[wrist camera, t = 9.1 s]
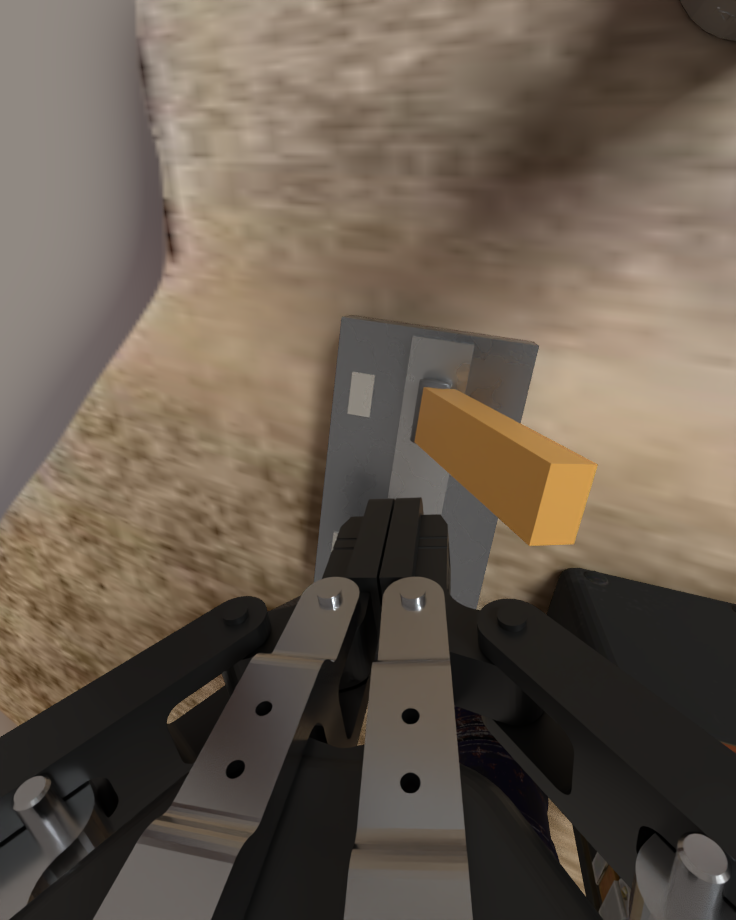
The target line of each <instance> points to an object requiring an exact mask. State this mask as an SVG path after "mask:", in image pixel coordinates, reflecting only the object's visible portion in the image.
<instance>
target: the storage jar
mask: <svg viewBox="0 0 736 920" xmlns="http://www.w3.org/2000/svg"><path fill="white" fill-rule="evenodd" d="M454 710H455V722H456V733H457V745H458V756H459V763H460V764H463V765H465V766H467V767H469V768H471V769H473V770H475V771H476V772H478V773H480V774H481V775H483V776H484V777H486V778H487V779H489V780H490V781H491V782H492V783H494V784H495V785H496V786H497V787H499V789H500V790H501V791H502V792H503V793H504V794H505V795H506V796H507V797H508V798H509V799H510V800H511V801H512V802H513V803H514V805H515V806H516V807H517V808H518V810H519V811H520V812H521V814H522V815H523V816H524V817H525V819H526V820H527V821H528V823H529V824H530V825H531V827H532V828H533V829H534V830H535V832H536V833H537V834H538V836H539V837H540V838H541V840H542V841H543V842H544V843H545V845H546V846H547V847H548V849H549V850H550V851H551V852H552V854H553V855H554V856H555V858H556V859H557V860H558V862H559V859H558V855H557V853H556V849H555V846H554V843H553V842H552V840H551V836H550V829H549V822H548V816H547V811H548V805H549V804H548V796H547V795H546V794H545V793H544V792H543V791H542V790H541V788H540V787H539V786H538V785H537V784H536V783H535V782H534V781H533V780H532V778H531V777H530V776H529V775H528V774H527V773H526V772H525V771H524V770H523V768H522V767H521V766H520V765H519V764H518V763H517V762H516V761H515V760H514V758H513V757H512V756H511V755H510V754H509V753H508V752H507V751H506V750H505V748H504V747H503V746H502V745H501V744H500V743H499V742H498V741H497V740H496V738H495V737H494V736H493V735H492V734H491V733H490V732H489V731H488V729H487V728H486V727H485V725H484V723H483V720H482V717H481V715H480V714H477V713H474V712H471V711H469V710H466V709H463V708H460V707H457V706H454Z"/></svg>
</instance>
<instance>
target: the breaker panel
mask: <svg viewBox="0 0 736 920" xmlns="http://www.w3.org/2000/svg"><path fill="white" fill-rule="evenodd" d="M538 348H539V345H537V344H536V343H535V342H532V341H526V340H519V339H512V338H505V337H498V336H491V335H484V334H477V333H471V332H464V331H457V330H450V329H443V328H436V327H429V326H422V325H416V324H409V323H402V322H395V321H388V320H381V319H374V318H367V317H361V316H354V315H350V316H344V317H342V319H341V329H340V338H339V348H338V357H337V367H336V376H335V386H334V395H333V405H332V414H331V424H330V433H329V443H328V452H327V462H326V471H325V481H324V490H323V500H322V509H321V519H320V528H319V538H318V547H317V557H316V566H315V576H314V582H316V581H318V580H321V579H322V577H323V574H324V571H325V568H326V566H327V563H328V560H329V557H330V555H331V552H332V550H333V546H334V544H335V541H336V540H337V536H338V533H339V530H340V527H341V526H342V525H343V524H344V523H345V522H346V521H347V520H348V519H349V518H350V517H357V516H364V513H365V510H366V507H367V503H368V500H369V499H389V498H394V499H396V498H417V497H421V498H422V502H423V512H424V515H431V514H441V516H442V517H443V519H444V520H445V521H446V523H447V524H448V535H449V550H450V565H451V592H450V594H451V596H452V598H453V599H455V600H456V601H457V602H459V603H460V604H462V605H464V606H466V607H469V608H472V609H476V608H477V604H478V600H479V595H480V591H481V587H482V583H483V579H484V574H485V570H486V566H487V562H488V558H489V553H490V549H491V545H492V541H493V537H494V532H495V528H496V524H497V520H498V517H497V516H496V515H494V514H493V513H492V512H491V511H490V510H489V509H488V508H487V507H486V506H485V505H483V504H482V503H481V502H480V501H479V500H478V499H477V498H476V497H475V496H473V495H472V494H471V493H470V492H469V491H468V490H467V489H466V488H465V487H463V486H462V485H461V484H460V483H459V482H458V481H457V480H456V479H455V478H453V477H452V476H451V475H450V474H449V473H448V472H447V471H446V470H445V469H443V468H442V467H441V466H440V465H439V464H438V463H437V462H436V461H435V460H434V459H432V458H431V457H430V456H429V455H428V454H427V453H426V452H425V451H424V450H422V449H421V448H420V447H419V446H418V445H417V444H415V443H413V442H411V441H410V436H411V430H412V424H413V418H414V412H415V405H416V399H417V393H418V387H419V381H420V379H435V380H440V381H445V382H448V383H450V384H451V387H450V389H456V390H458V391H460V392H462V393H464V394H466V395H467V396H469V397H471V398H473V399H475V400H477V401H479V402H481V403H483V404H484V405H486V406H488V407H490V408H492V409H494V410H496V411H498V412H500V413H501V414H503V415H505V416H507V417H509V418H511V419H513V420H515V421H517V422H518V423H521V419H522V415H523V411H524V406H525V402H526V398H527V394H528V390H529V385H530V381H531V377H532V373H533V369H534V364H535V360H536V356H537V352H538ZM301 596H302V595H301ZM301 596H299V597H297V598H295V599H293V600H291V601H289V602H287V603H285V604H283V605H281V606H279V607H277V608H275V609H273V610H277V609H281V608H285V607H289V606H293V605H296V604H297V603H298V602H299V600H300V598H301ZM271 611H272V610H271ZM375 660H378V654H375Z"/></svg>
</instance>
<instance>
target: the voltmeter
mask: <svg viewBox="0 0 736 920" xmlns="http://www.w3.org/2000/svg"><path fill="white" fill-rule="evenodd" d="M547 616H549V617H550V618H552V619H553V620H554V621H556V622H557V623H558V624H560V625H561V626H562V627H564V628H565V629H567V630H568V631H569V632H571V633H572V634H573V635H575V636H576V637H578V638H579V639H580V640H582V641H583V642H584V643H586V644H587V645H588V646H590V647H591V648H593V649H594V650H595V651H597V652H598V653H599V654H601V655H602V656H604V657H605V658H606V659H608V660H609V661H610V662H612V663H613V664H614V665H616V666H617V667H619V668H620V669H621V670H623V671H624V672H625V673H627V674H628V675H630V676H631V677H632V678H634V679H635V680H636V681H638V682H639V683H640V684H642V685H643V686H645V687H646V688H647V689H649V690H650V691H651V692H653V693H654V694H656V695H657V696H658V697H660V698H661V699H662V700H664V701H665V702H666V703H668V704H669V705H671V706H672V707H673V708H675V709H676V710H677V711H679V712H680V713H682V714H683V715H684V716H686V717H687V718H688V719H690V720H691V721H692V722H694V723H695V724H697V725H698V726H699V727H701V728H702V729H703V730H705V731H706V732H707V733H709V734H710V735H712V736H713V737H714V738H716V739H717V740H718V741H720V742H721V743H723V744H724V745H725V746H727V747H728V748H729V749H731V750H732V751H733V752H735V753H736V604H732V603H728V602H724V601H719V600H715V599H711V598H707V597H702V596H698V595H694V594H689V593H685V592H681V591H676V590H672V589H668V588H664V587H659V586H655V585H651V584H646V583H642V582H638V581H634V580H629V579H625V578H621V577H616V576H612V575H608V574H603V573H599V572H596V571H591V570H586V569H582V568H569V569H567V570H565V571H564V572H562V573H561V575H560V577H559V580H558V583H557V586H556V589H555V591H554V594H553V597H552V600H551V603H550V606H549V609H548V612H547ZM572 825H573V824H572ZM573 830H574V836H575V841H576V846H577V851H578V856H579V862H580V867H581V872H582V877H583V883H584V888H585V893H586V898H587V899H588V900H589V902H590V903H591V904H592V905H593V907H594V908H595V909H596V911H597V912H598V913H599V914H600V916H601V917H602V918H603V920H630V919H629V898H630V892H631V889H630V887H629V886H628V885H627V884H626V883H625V882H624V881H623V880H622V879H621V877H620V876H619V875H618V874H617V873H616V872H615V871H614V870H613V869H612V867H611V866H610V865H609V864H608V863H607V862H606V861H605V860H604V859H603V857H602V856H601V855H600V854H599V853H598V852H597V851H596V850H595V849H594V847H593V846H592V845H591V844H590V843H589V842H588V841H587V840H586V839H585V837H584V836H583V835H582V834H581V833H580V832H579V831H578V830H577V829H576V827H575V826H574V825H573Z"/></svg>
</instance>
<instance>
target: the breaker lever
mask: <svg viewBox="0 0 736 920" xmlns="http://www.w3.org/2000/svg"><path fill="white" fill-rule="evenodd" d="M450 387H451V384H450V383H448V382H445V381H440V380H435V379H420V381H419V387H418V393H417V399H416V405H415V412H414V418H413V424H412V430H411V436H410V441H411V442H413V443H415V444H417V445H418V446H419V447H420V448H421V449H422V450H424V451H425V452H426V453H427V454H428V455H429V456H430V457H431V458H432V459H434V460H435V461H436V462H437V463H438V464H439V465H440V466H441V467H442V468H443V469H445V470H446V471H447V472H448V473H449V474H450V475H451V476H452V477H453V478H455V479H456V480H457V481H458V482H459V483H460V484H461V485H462V486H463V487H465V488H466V489H467V490H468V491H469V492H470V493H471V494H472V495H473V496H475V497H476V498H477V499H478V500H479V501H480V502H481V503H482V504H483V505H485V506H486V507H487V508H488V509H489V510H490V511H491V512H492V513H493V514H494V515H496V516H497V517H498V518H499V519H500V520H501V521H502V522H503V523H504V524H506V525H507V526H508V527H509V528H510V529H511V530H512V531H513V532H514V533H516V534H517V535H518V536H519V537H520V538H521V539H522V540H523V541H524V542H526V543H527V544H528V545H529V546H538V545H565V544H574V542H575V539H576V535H577V532H578V529H579V525H580V522H581V519H582V515H583V512H584V509H585V505H586V502H587V499H588V495H589V492H590V489H591V486H592V482H593V479H594V476H595V472H596V469H597V466H598V464H596V463H594V462H592V461H590V460H588V459H586V458H584V457H583V456H581V455H579V454H577V453H575V452H573V451H571V450H569V449H567V448H566V447H564V446H562V445H560V444H558V443H556V442H554V441H552V440H551V439H549V438H547V437H545V436H543V435H541V434H539V433H537V432H535V431H534V430H532V429H530V428H528V427H526V426H524V425H522V424H520V423H518V422H517V421H515V420H513V419H511V418H509V417H507V416H505V415H503V414H501V413H500V412H498V411H496V410H494V409H492V408H490V407H488V406H486V405H484V404H483V403H481V402H479V401H477V400H475V399H473V398H471V397H469V396H467V395H466V394H464V393H462V392H460V391H458V390H456V389H450Z"/></svg>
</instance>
